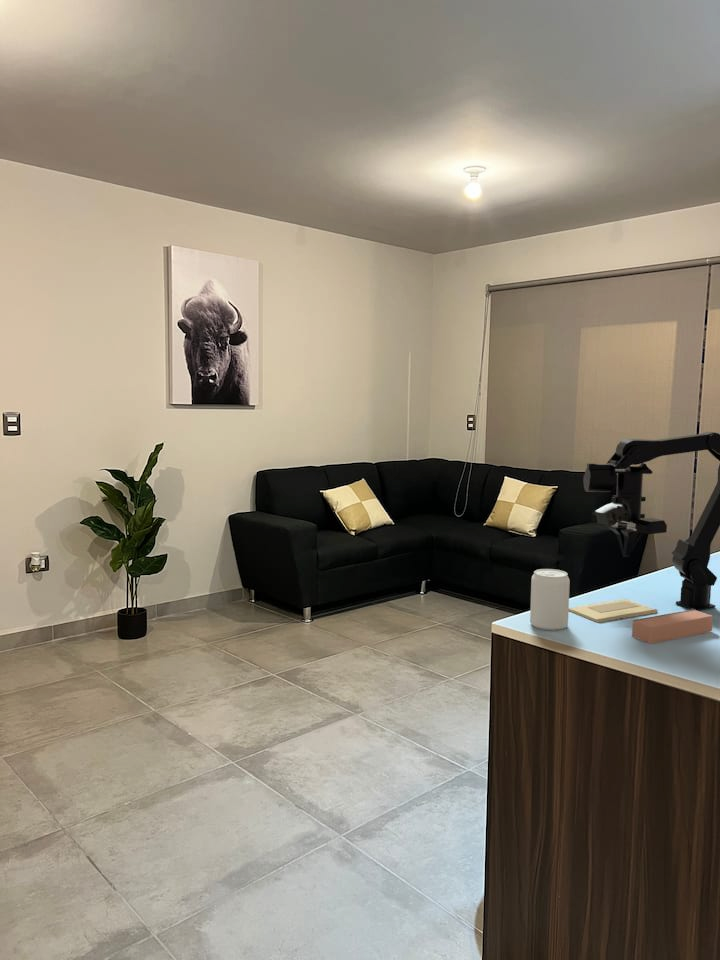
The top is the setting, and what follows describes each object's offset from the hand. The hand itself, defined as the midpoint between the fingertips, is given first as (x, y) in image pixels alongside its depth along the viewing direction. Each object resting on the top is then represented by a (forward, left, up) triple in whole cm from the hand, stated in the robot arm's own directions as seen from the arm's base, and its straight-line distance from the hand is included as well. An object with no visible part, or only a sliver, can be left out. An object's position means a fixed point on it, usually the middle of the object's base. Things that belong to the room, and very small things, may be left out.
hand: (625, 556), depth 176 cm
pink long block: (+6, +20, -12) cm, 25 cm away
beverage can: (+27, +5, -12) cm, 30 cm away
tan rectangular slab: (+6, +3, -12) cm, 14 cm away
